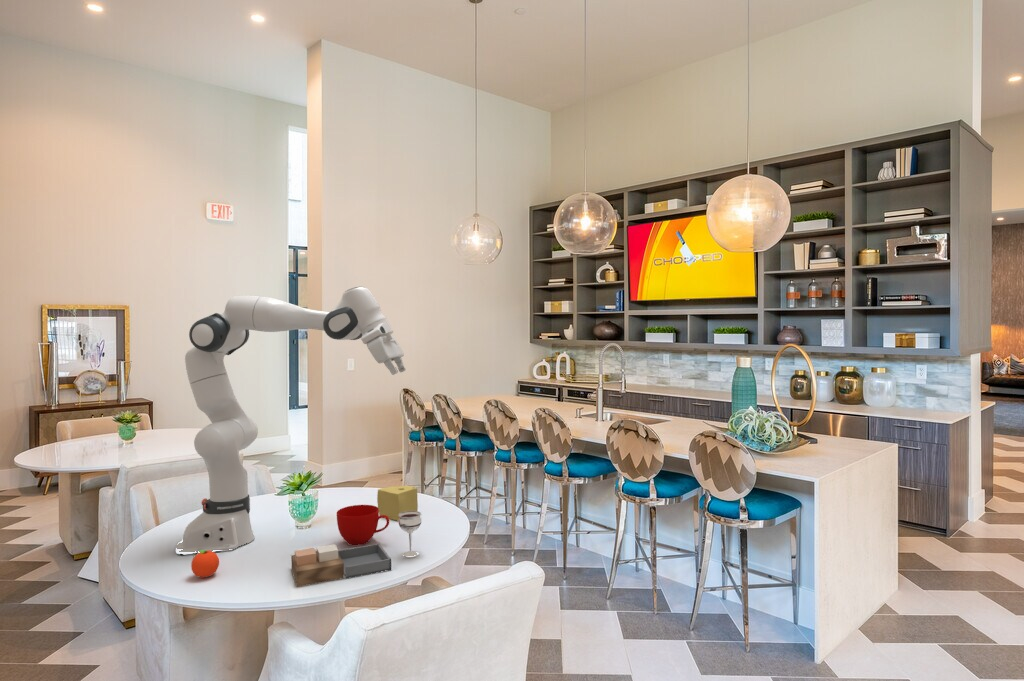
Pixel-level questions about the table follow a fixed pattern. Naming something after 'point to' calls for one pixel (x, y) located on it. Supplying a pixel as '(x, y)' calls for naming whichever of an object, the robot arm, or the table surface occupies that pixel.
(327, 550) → the tile
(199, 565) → the clementine
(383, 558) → the tray
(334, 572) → the walnut block
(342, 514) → the ceramic cup
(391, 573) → the table surface
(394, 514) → the cheese
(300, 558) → the tile
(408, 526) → the wineglass
